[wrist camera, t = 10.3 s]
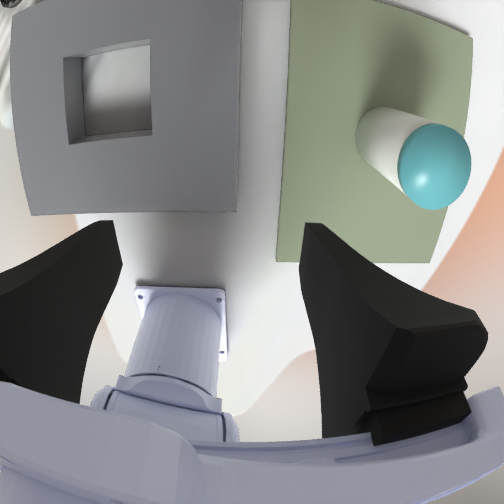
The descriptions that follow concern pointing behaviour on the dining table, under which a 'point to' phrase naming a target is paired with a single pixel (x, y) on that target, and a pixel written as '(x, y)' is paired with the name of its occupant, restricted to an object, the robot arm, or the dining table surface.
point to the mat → (349, 114)
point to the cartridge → (415, 155)
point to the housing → (162, 107)
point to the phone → (10, 3)
